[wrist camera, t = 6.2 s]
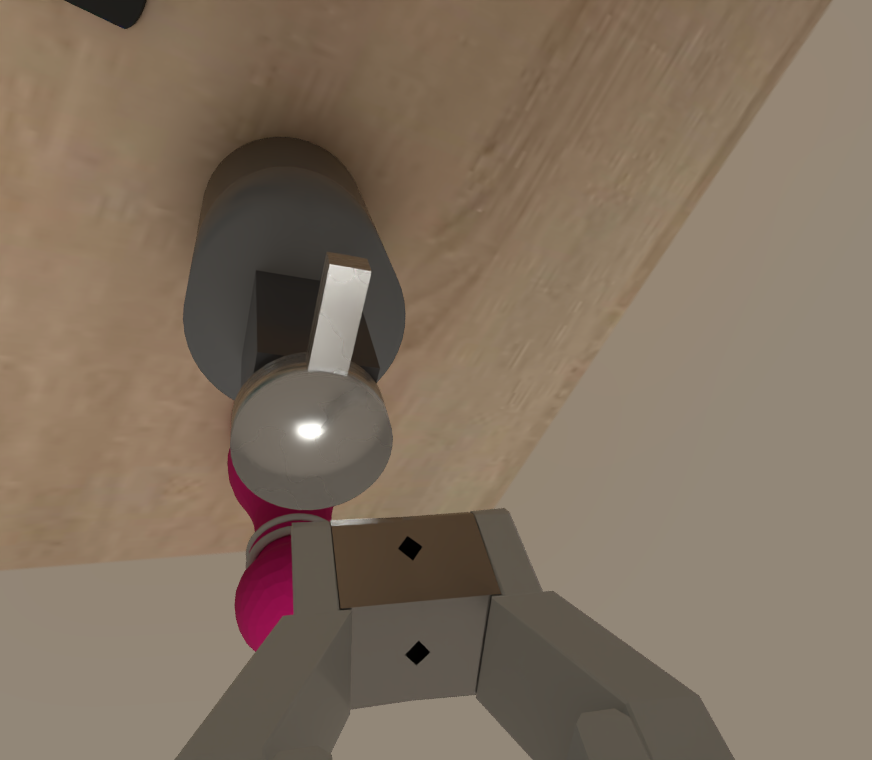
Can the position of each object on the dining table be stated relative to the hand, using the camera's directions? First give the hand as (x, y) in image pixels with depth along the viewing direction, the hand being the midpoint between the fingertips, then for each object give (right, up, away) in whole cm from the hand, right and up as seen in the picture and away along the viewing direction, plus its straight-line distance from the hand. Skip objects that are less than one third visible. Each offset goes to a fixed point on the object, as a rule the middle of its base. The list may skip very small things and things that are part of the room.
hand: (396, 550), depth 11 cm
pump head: (-5, +6, +20) cm, 21 cm away
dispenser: (-8, +12, +32) cm, 35 cm away
